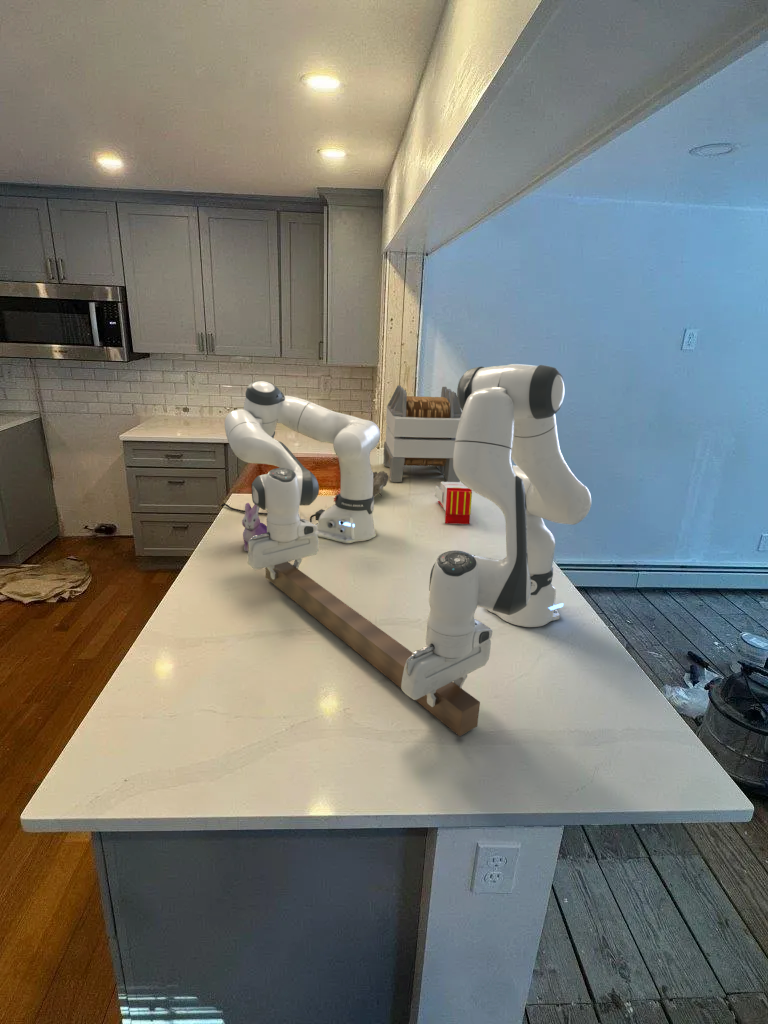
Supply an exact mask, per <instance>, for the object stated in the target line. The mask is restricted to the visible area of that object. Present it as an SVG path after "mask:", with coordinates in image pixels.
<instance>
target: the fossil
mask: <svg viewBox="0 0 768 1024" xmlns="http://www.w3.org/2000/svg"><path fill="white" fill-rule="evenodd" d="M372 472H373V496H374V498H376V496H377V495H378V494H379V496H380V497H382V496H383V495H382V493H381V491H382V490H383V489H384V487H387V484H388V482H389V475H388V473H387V472H385V471H384V470H383V471H379V472H377V471H372Z"/></svg>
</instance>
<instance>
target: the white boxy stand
mask: <svg viewBox="0 0 768 1024" xmlns="http://www.w3.org/2000/svg"><path fill="white" fill-rule="evenodd" d="M440 393H441V394H440V396H415V395H414V396H413V395H412V396H411V395H407V394H408V393H407V390H406V389H404V388H403V387H402V385H399V384H398V385H397V386H396V388H395V390H394V392H393V394H392V395H391V398H390V400H389V402H388V404H387V405H386V413H385V414H386V415H385V423H386V428H385V438H384V442H383V466H384V467H388V468H389V475H388V479H389V480H390V482H391V483H402V482H403V475H404V469H405V466H406V467H407V466H411V467H412V466H413V467H415V466H416V467H417V466H418V467H436V468H437V470H438V469H439V473H440V474H441V475H443V478H444V479H445V482H461V481H460V480H459V479H458V477H457V476H456V474H455V471H454V468H453V455H454V446H455V440H456V434H457V430H458V425H459V421H460V418H461V414H462V409H461V408H460V406H459V403H458V399H457V392H455V391H453V390H452V389H451V388H447V386H442V387H441V392H440Z"/></svg>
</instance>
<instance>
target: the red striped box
mask: <svg viewBox="0 0 768 1024" xmlns="http://www.w3.org/2000/svg"><path fill="white" fill-rule="evenodd" d="M434 497H435V498H436V499H437V503H438V504H439V505H440V506H441V508H443V510H444V511H445V515H444V524H448V525H449V524H451V525H470V522H471V521H470V520H471V515H472V513H471V512H472V497H473V491H472V490H471V489H469V488H468V487H466V486H465V485H464V484H463V483H462V482H461V481H460V482H447V481H440V487H439V486H438V485H435V491H434Z"/></svg>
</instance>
